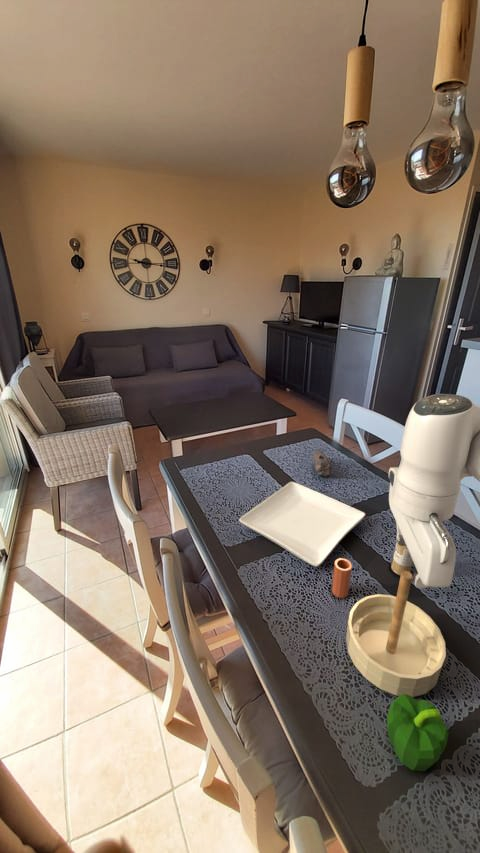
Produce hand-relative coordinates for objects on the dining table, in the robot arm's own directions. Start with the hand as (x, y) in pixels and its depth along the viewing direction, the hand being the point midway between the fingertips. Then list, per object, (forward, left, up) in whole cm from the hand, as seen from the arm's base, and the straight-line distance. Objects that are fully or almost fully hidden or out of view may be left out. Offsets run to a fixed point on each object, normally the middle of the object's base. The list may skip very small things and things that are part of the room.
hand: (410, 562), depth 62 cm
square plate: (+16, -37, -24) cm, 47 cm away
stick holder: (+8, -14, -24) cm, 29 cm away
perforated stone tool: (+8, -70, -24) cm, 74 cm away
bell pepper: (+1, +16, -24) cm, 29 cm away
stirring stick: (0, 0, -23) cm, 23 cm away
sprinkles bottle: (-8, -22, -24) cm, 33 cm away
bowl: (0, 0, -24) cm, 24 cm away
